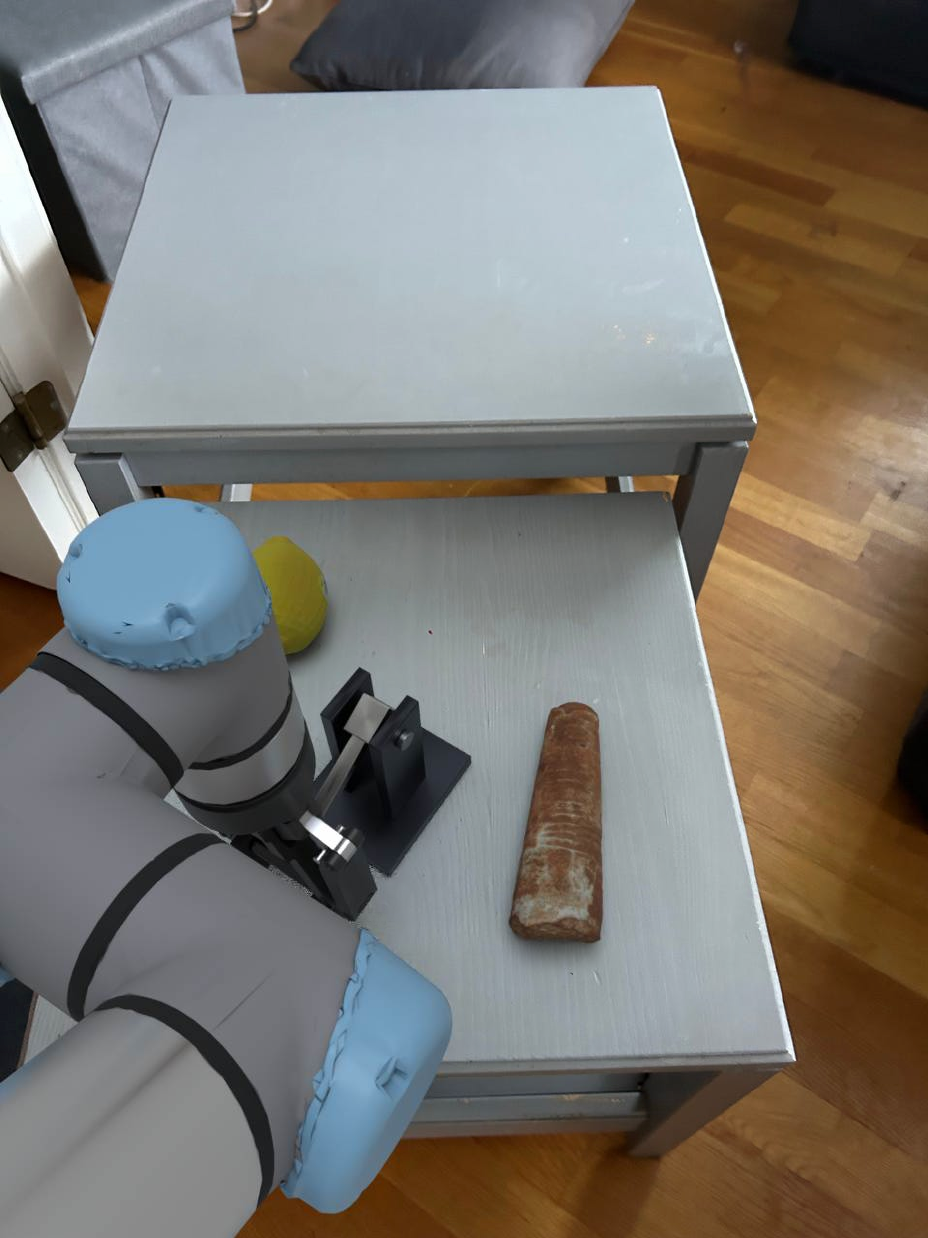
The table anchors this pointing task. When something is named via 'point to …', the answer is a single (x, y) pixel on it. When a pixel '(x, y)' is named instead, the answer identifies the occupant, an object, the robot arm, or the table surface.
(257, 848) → the lever
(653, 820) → the table surface
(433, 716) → the table surface
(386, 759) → the bracket
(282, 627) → the lemon
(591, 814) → the bread
